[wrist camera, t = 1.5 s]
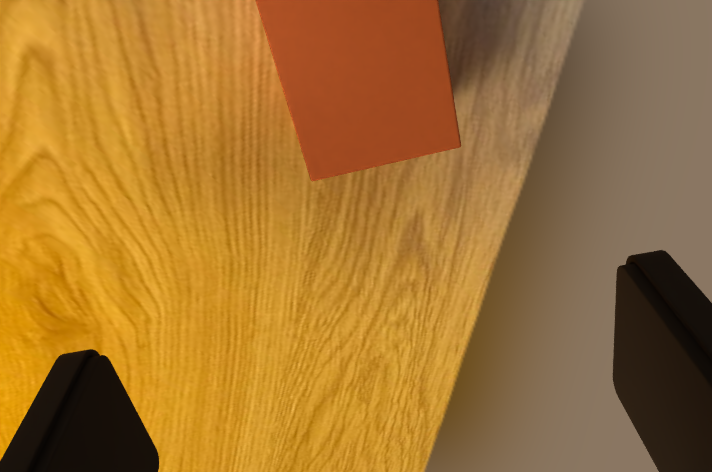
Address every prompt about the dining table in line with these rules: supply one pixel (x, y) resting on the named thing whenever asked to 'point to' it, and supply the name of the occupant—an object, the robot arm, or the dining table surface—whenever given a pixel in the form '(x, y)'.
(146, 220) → the dining table surface
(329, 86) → the orange block
